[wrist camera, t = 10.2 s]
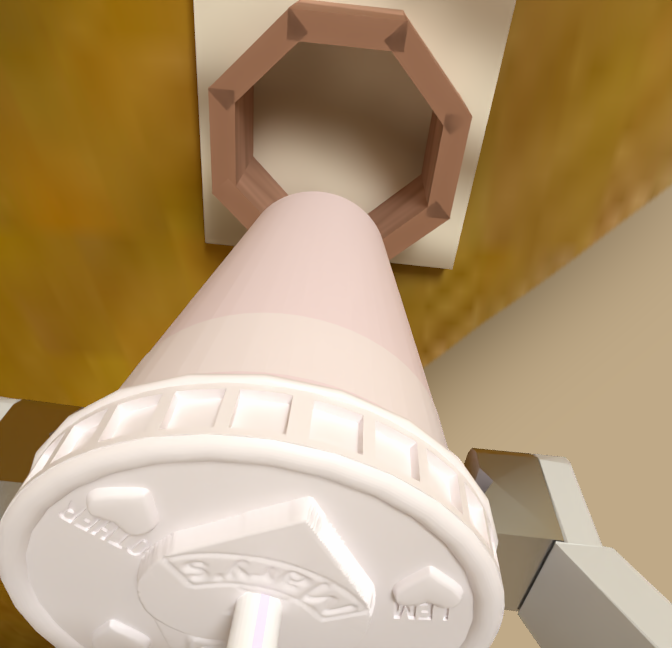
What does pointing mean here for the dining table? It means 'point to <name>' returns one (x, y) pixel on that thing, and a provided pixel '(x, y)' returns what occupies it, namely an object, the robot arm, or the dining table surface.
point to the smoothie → (263, 471)
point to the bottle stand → (348, 111)
